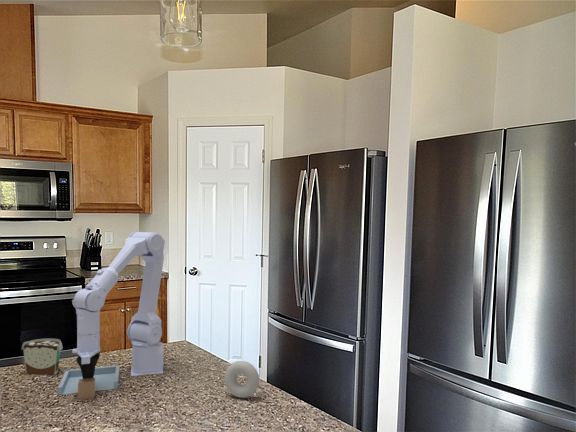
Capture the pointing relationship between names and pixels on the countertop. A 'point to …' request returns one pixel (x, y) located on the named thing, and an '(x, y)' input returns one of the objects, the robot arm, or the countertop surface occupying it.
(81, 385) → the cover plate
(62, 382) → the open box
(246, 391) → the donut
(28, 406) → the countertop surface
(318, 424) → the countertop surface
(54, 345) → the food container
